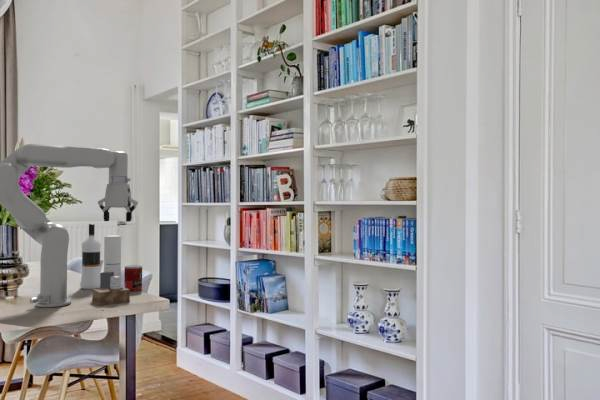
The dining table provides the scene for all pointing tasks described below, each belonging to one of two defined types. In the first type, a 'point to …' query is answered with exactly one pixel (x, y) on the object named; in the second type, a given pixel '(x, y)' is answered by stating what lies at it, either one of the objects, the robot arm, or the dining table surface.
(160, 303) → the dining table surface
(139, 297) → the dining table surface
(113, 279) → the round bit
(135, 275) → the canned food
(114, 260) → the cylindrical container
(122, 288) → the bore block
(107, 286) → the square bit
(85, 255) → the vodka
